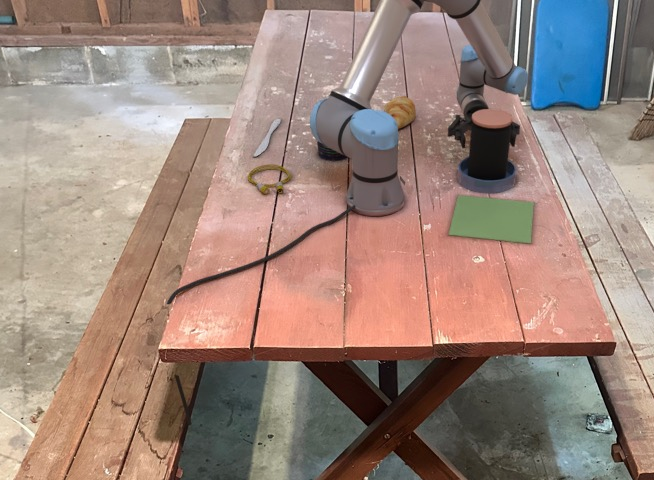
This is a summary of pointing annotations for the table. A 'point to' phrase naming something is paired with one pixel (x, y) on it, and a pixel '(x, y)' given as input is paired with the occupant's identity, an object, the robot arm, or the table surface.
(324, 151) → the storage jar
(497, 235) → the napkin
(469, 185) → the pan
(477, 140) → the coffee jar
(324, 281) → the table surface
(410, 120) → the croissant
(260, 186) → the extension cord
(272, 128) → the butter knife
